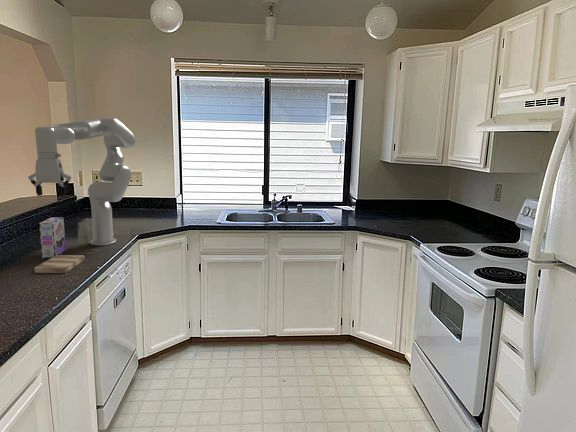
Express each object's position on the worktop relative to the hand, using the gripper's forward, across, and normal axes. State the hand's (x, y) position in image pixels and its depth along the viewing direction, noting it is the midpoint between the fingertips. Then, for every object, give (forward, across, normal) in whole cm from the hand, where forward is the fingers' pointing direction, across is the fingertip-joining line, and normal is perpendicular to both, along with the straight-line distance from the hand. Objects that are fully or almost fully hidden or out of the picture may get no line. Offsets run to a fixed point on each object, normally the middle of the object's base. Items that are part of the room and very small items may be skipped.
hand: (51, 195), depth 180 cm
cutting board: (+28, -7, +12) cm, 32 cm away
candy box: (+29, +4, -5) cm, 29 cm away
